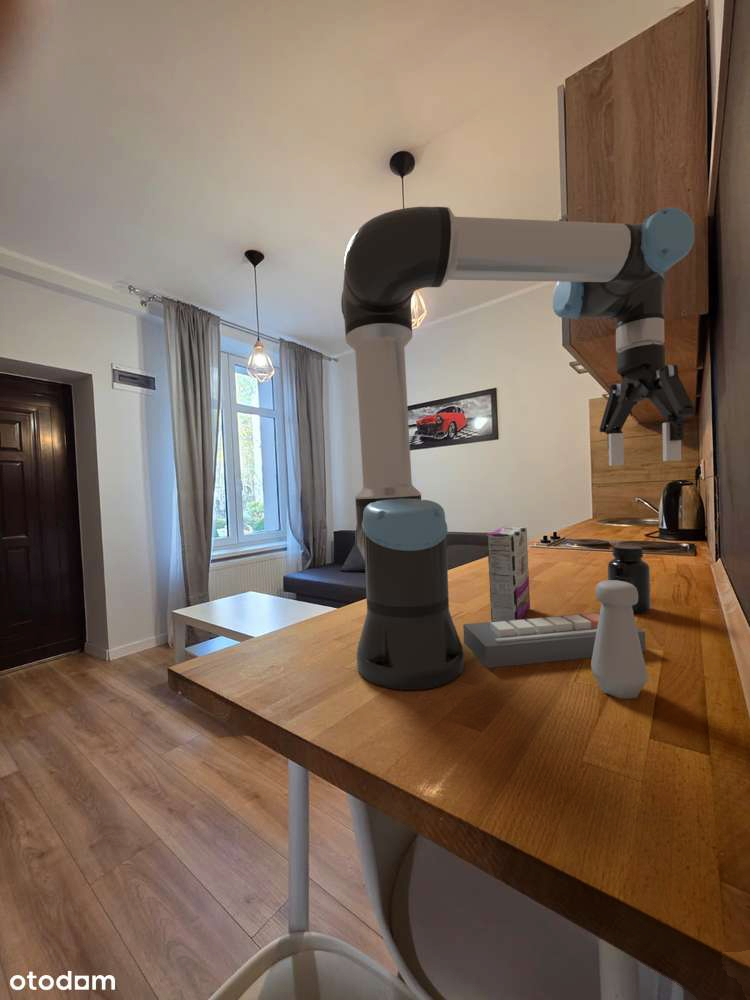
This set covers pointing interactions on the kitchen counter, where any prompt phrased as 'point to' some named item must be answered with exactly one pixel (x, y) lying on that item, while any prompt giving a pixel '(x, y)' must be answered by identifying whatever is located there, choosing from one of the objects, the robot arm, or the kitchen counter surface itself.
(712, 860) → the kitchen counter surface
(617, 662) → the salt shaker
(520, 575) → the candy bar box
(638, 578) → the supplement bottle
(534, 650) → the gray button panel
